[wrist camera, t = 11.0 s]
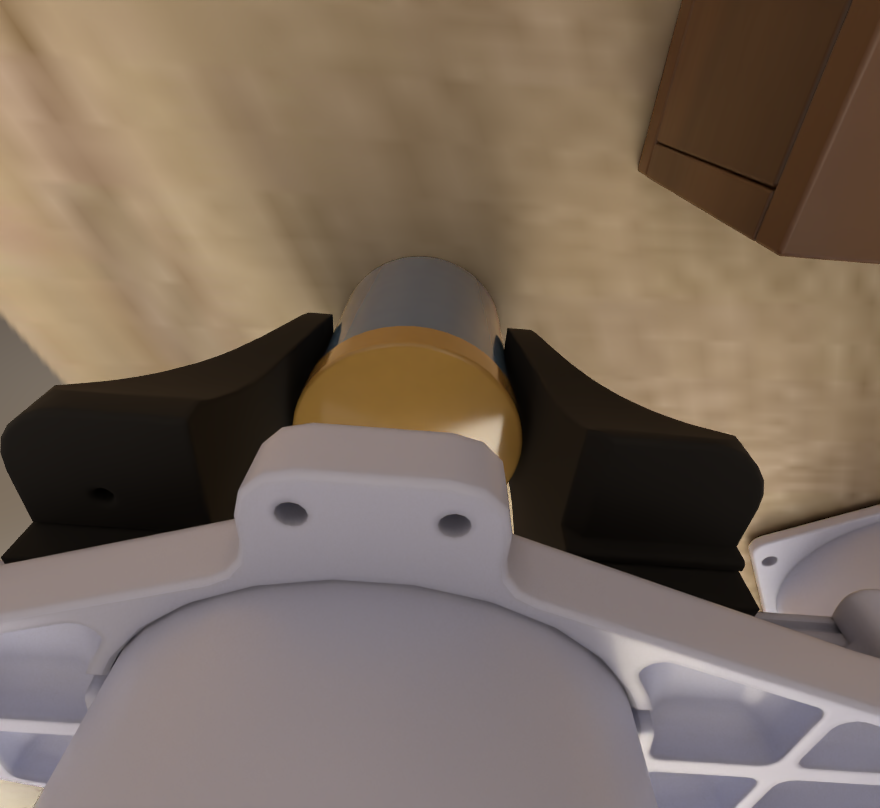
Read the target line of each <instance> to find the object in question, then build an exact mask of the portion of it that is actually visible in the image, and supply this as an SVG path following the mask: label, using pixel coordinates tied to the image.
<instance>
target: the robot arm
mask: <svg viewBox="0 0 880 808" xmlns="http://www.w3.org/2000/svg"><path fill="white" fill-rule="evenodd" d="M332 336H333V315H332V314H320V313H306V314H304V315H302V316H300V317H298V318H296V319H294V320H292V321H290V322H288V323H286V324H285V325H283V326H281V327H279V328H277V329H275V330H273V331H272V332H270V333H268V334H266V335H264V336H262V337H260V338H258V339H256V340H254V341H252V342H250V343H247V344H245V345H243V346H241V347H239V348H237V349H235V350H232V351H230V352H227V353H225V354H222V355H219V356H217V357H214V358H211V359H208V360H205V361H202V362H199V363H195V364H192V365H188V366H184V367H180V368H176V369H172V370H168V371H164V372H160V373H155V374H150V375H144V376H139V377H132V378H126V379H119V380H111V381H102V382H91V383H79V384H68V385H55V386H54V387H52V388H51V389H50V390H49V391H48V392H46V393H45V394H44V395H43V396H41V397H40V398H39V399H38V400H37V401H35V402H34V403H33V404H32V405H31V406H29V407H28V408H27V409H26V410H24V411H23V412H22V413H21V414H20V415H19V416H17V417H16V418H15V419H14V420H12V421H11V422H10V423H9V424H8V425H7V427H6V429H5V430H4V433H3V434H2V436H1V451H0V452H1V455H2V458H3V461H4V464H5V467H6V470H7V472H8V474H9V476H10V478H11V480H12V482H13V484H14V486H15V488H16V490H17V492H18V493H19V495H20V497H21V499H22V501H23V503H24V505H25V507H26V509H27V511H28V513H29V515H30V517H31V519H32V521H33V523H32V524H31V525H30V526H29V527H28V529H26V530H25V532H24V533H23V534H22V535H21V536H20V537H19V538H18V539H17V540H16V541H15V543H14V544H13V545H12V546H11V547H10V548H9V549H8V550H7V551H6V552H5V553H4V554H3V556H2V557H1V559H2V560H0V779H1V780H6V781H11V782H16V783H22V784H27V785H32V786H38V787H43V788H44V789H43V791H42V793H41V795H40V796H39V798H38V800H37V802H36V803H35V805H34V807H33V808H880V504H879V505H875V506H871V507H867V508H864V509H860V510H856V511H853V512H849V513H845V514H841V515H838V516H834V517H830V518H826V519H823V520H819V521H815V522H812V523H808V524H804V525H800V526H797V527H793V528H789V529H785V530H782V531H778V532H774V533H771V534H767V535H763V536H760V537H757V538H755V539H754V540H753V541H752V542H751V543H750V544H749V553H750V557H751V562H752V566H753V570H754V575H755V579H756V583H757V588H758V592H759V596H760V601H761V605H762V609H763V612H758V611H759V610H760V609H759V607H758V605H757V604H756V602H755V600H754V598H753V596H752V595H751V593H750V591H749V589H748V587H747V586H746V584H745V582H744V580H743V578H742V577H741V575H740V573H739V571H742V570H743V568H744V567H745V561H744V559H743V557H742V555H741V554H740V552H739V550H738V549H737V547H736V546H737V544H738V543H739V541H740V539H741V538H742V536H743V534H744V532H745V531H746V529H747V527H748V525H749V524H750V522H751V520H752V518H753V517H754V515H755V513H756V511H757V510H758V508H759V505H760V502H761V500H762V497H763V495H764V479H763V477H762V475H761V472H760V470H759V467H758V466H757V464H756V463H755V462H754V460H753V459H752V458H751V456H750V455H749V454H748V452H747V451H746V450H745V448H744V447H743V446H742V444H741V443H740V442H739V440H738V439H737V438H736V436H733V435H729V434H725V433H721V432H717V431H714V430H710V429H706V428H702V427H698V426H694V425H691V424H687V423H684V422H682V421H679V420H676V419H673V418H670V417H667V416H664V415H661V414H659V413H656V412H654V411H651V410H649V409H647V408H644V407H642V406H640V405H638V404H636V403H633V402H631V401H629V400H627V399H625V398H623V397H621V396H619V395H617V394H615V393H614V392H612V391H610V390H609V389H607V388H605V387H603V386H602V385H600V384H598V383H597V382H595V381H594V380H592V379H591V378H589V377H588V376H587V375H585V374H584V373H583V372H581V371H580V370H578V369H577V368H576V367H574V366H573V365H572V364H571V363H569V362H568V361H567V360H566V359H565V358H563V357H562V356H561V355H560V354H559V353H557V352H556V351H555V350H554V349H553V348H552V347H551V346H550V345H548V344H547V343H546V342H545V341H544V340H543V339H542V338H541V337H540V336H538V335H537V334H536V333H535V332H533V331H532V330H523V329H511V328H508V329H507V335H506V341H505V347H504V353H505V359H506V365H507V371H508V377H509V382H510V384H511V386H512V388H513V390H514V393H515V396H516V398H517V403H518V407H519V412H520V418H521V423H522V430H523V445H522V453H521V456H520V460H519V463H518V466H517V468H516V470H515V472H514V474H513V476H512V478H511V479H510V481H509V486H510V492H511V499H512V509H513V524H514V534H512V526H511V518H510V509H509V501H508V493H507V485H506V478H505V472H504V466H503V461H502V460H501V459H500V458H499V457H498V456H497V455H496V454H495V453H494V452H493V451H492V450H491V449H490V448H489V447H488V446H487V445H486V444H485V443H484V442H481V441H478V440H475V439H471V438H468V437H464V436H461V435H458V434H454V433H446V432H432V431H419V430H405V429H392V428H378V427H365V426H351V425H338V424H325V423H308V424H301V425H294V426H292V421H293V414H294V409H295V406H296V403H297V400H298V398H299V396H300V394H301V391H302V389H303V387H304V385H305V383H306V381H307V379H308V377H309V375H310V373H311V371H312V370H313V369H314V367H315V366H316V365H317V363H318V362H319V361H320V360H321V359H322V358H323V355H324V353H325V351H326V349H327V347H328V344H329V342H330V340H331V338H332Z"/></svg>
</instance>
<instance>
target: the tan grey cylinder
mask: <svg viewBox="0 0 880 808" xmlns="http://www.w3.org/2000/svg"><path fill="white" fill-rule="evenodd" d="M308 423H325V424H338V425H351V426H365V427H378V428H392V429H405V430H419V431H432V432H446V433H454V434H458V435H461V436H464V437H468V438H471V439H475V440H478V441H481V442H484V443H485V444H486V445H487V446H488V447H489V448H490V449H491V450H492V451H493V452H494V453H495V454H496V455H497V456H498V457H499V458H500V459H501V460H502V461H503V466H504V472H505V478H506V485H507V484H508V482H509V481H510V479H511V478H512V476H513V474H514V472H515V470H516V468H517V466H518V463H519V460H520V456H521V453H522V445H523V430H522V423H521V418H520V412H519V407H518V403H517V398H516V396H515V393H514V390H513V388H512V386H511V384H510V382H509V377H508V371H507V365H506V359H505V353H504V347H503V341H502V335H501V329H500V323H499V318H498V313H497V310H496V307H495V304H494V302H493V300H492V298H491V296H490V295H489V293H488V292H487V290H486V289H485V287H484V286H483V285H482V284H481V283H480V282H479V281H478V280H477V279H476V278H475V277H474V276H473V275H471V274H470V273H469V272H468V271H466V270H464V269H463V268H461V267H459V266H458V265H455V264H453V263H451V262H448V261H445V260H441V259H438V258H432V257H417V256H415V257H406V258H401V259H397V260H393V261H391V262H388V263H386V264H383V265H381V266H380V267H378V268H376V269H374V270H373V271H372V272H370V273H369V274H368V275H367V276H365V277H364V278H363V279H362V281H361V282H360V283H359V284H358V285H357V286H356V288H355V289H354V291H353V292H352V294H351V296H350V298H349V300H348V302H347V304H346V307H345V309H344V311H343V313H342V316H341V318H340V320H339V322H338V324H337V327H336V329H335V331H334V333H333V336H332V338H331V340H330V342H329V344H328V347H327V349H326V351H325V353H324V355H323V358H322V359H321V360H320V361H319V362H318V363H317V365H316V366H315V367H314V369H313V370H312V371H311V373H310V375H309V377H308V379H307V381H306V383H305V385H304V387H303V389H302V391H301V394H300V396H299V398H298V400H297V403H296V406H295V409H294V414H293V421H292V426H294V425H301V424H308Z"/></svg>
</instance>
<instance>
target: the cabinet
mask: <svg viewBox="0 0 880 808" xmlns="http://www.w3.org/2000/svg"><path fill="white" fill-rule="evenodd" d="M638 171H639V172H641V173H642V174H644V175H646V176H647V177H648V178H650V179H651V180H653V181H655V182H656V183H658V184H660V185H661V186H663V187H665V188H666V189H668V190H670V191H671V192H673V193H675V194H676V195H678V196H680V197H681V198H683V199H685V200H686V201H688V202H690V203H691V204H693V205H695V206H696V207H698V208H700V209H701V210H703V211H705V212H706V213H708V214H710V215H711V216H713V217H715V218H716V219H718V220H720V221H721V222H723V223H725V224H726V225H728V226H730V227H732V228H733V229H735V230H737V231H738V232H740V233H742V234H743V235H745V236H747V237H748V238H750V239H752V240H753V241H756V242H757V243H759V244H761V245H762V246H764V247H766V248H767V249H769V250H771V251H772V252H774V253H776V254H777V255H779V256H787V257H799V258H811V259H823V260H835V261H848V262H860V263H872V264H880V0H682V3H681V7H680V11H679V15H678V18H677V22H676V26H675V30H674V34H673V37H672V41H671V45H670V49H669V53H668V56H667V60H666V64H665V68H664V72H663V75H662V79H661V83H660V87H659V91H658V94H657V98H656V102H655V106H654V110H653V113H652V117H651V121H650V125H649V129H648V132H647V136H646V140H645V144H644V148H643V151H642V155H641V159H640V163H639V167H638Z"/></svg>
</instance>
